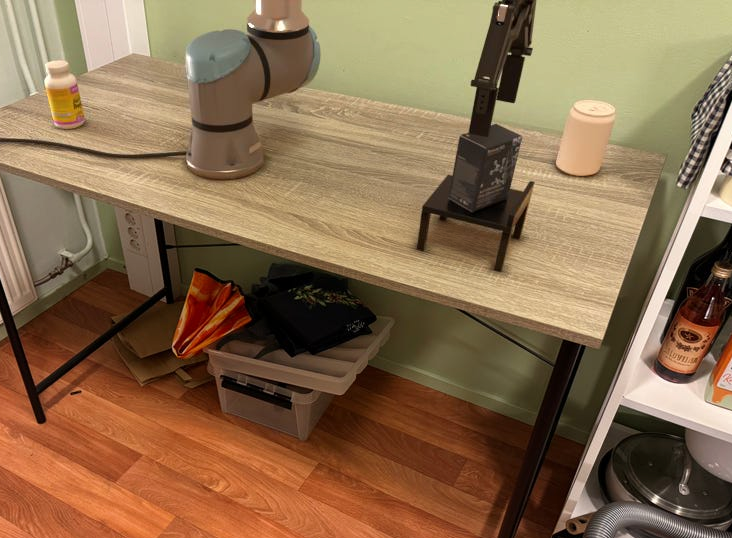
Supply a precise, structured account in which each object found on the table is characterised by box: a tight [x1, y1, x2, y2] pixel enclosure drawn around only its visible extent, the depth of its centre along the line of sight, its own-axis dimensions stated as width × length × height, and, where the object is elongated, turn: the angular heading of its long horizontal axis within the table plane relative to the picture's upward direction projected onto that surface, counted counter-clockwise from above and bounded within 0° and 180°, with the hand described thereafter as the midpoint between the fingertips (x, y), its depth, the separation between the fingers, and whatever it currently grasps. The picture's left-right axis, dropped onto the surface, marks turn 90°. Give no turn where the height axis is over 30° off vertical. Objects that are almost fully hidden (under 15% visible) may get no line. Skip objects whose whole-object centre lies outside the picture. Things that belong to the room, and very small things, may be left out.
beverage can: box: [555, 99, 617, 177], centre depth 128 cm, size 8×8×12 cm
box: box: [449, 123, 523, 212], centre depth 104 cm, size 8×6×11 cm
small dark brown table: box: [416, 174, 535, 273], centre depth 109 cm, size 14×12×10 cm
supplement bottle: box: [44, 59, 86, 130], centre depth 146 cm, size 7×7×13 cm
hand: (492, 117), depth 99 cm, fingers open, 13 cm apart
